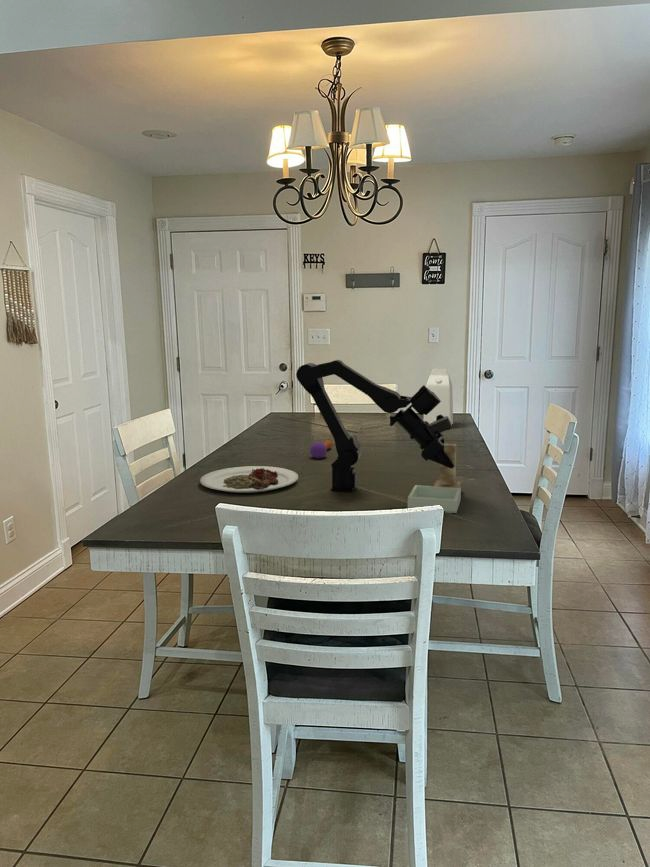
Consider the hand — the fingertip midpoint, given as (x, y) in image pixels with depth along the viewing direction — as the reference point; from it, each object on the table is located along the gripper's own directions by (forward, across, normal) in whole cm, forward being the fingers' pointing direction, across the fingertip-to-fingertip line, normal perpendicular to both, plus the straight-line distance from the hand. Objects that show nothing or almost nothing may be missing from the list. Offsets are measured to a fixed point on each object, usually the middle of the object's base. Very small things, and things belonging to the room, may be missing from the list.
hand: (453, 465), depth 185 cm
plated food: (-37, +3, +50) cm, 62 cm away
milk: (+2, +112, +10) cm, 113 cm away
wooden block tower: (+4, 0, +6) cm, 7 cm away
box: (+2, -13, +9) cm, 16 cm away
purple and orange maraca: (-27, +47, +39) cm, 67 cm away
